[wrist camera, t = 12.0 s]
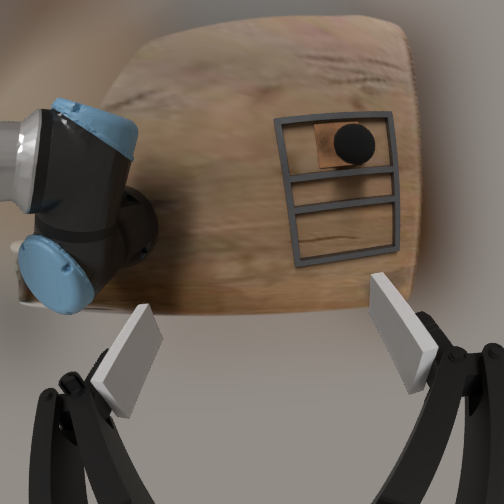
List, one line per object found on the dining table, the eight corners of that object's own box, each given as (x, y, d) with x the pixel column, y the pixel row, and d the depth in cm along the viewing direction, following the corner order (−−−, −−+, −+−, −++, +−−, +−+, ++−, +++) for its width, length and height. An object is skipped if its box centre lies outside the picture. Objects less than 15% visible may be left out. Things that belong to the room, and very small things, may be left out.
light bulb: (360, 157, 41) (385, 162, 32) (327, 164, 42) (345, 170, 33) (352, 123, 39) (376, 119, 30) (319, 129, 40) (335, 125, 31)
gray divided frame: (294, 264, 49) (295, 267, 48) (273, 119, 40) (273, 118, 39) (396, 248, 47) (399, 250, 46) (389, 111, 38) (392, 111, 37)
